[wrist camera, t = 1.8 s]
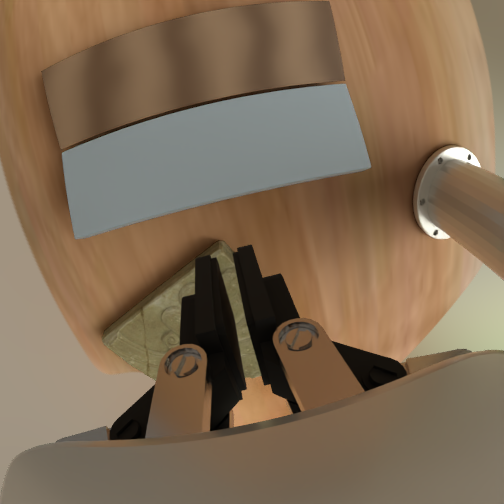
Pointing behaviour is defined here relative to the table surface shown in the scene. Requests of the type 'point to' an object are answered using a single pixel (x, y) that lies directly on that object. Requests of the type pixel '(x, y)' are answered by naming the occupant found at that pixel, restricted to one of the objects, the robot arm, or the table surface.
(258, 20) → the walnut plank
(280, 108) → the grey-blue plank
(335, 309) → the table surface
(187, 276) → the decorative tile
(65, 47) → the table surface
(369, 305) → the table surface
